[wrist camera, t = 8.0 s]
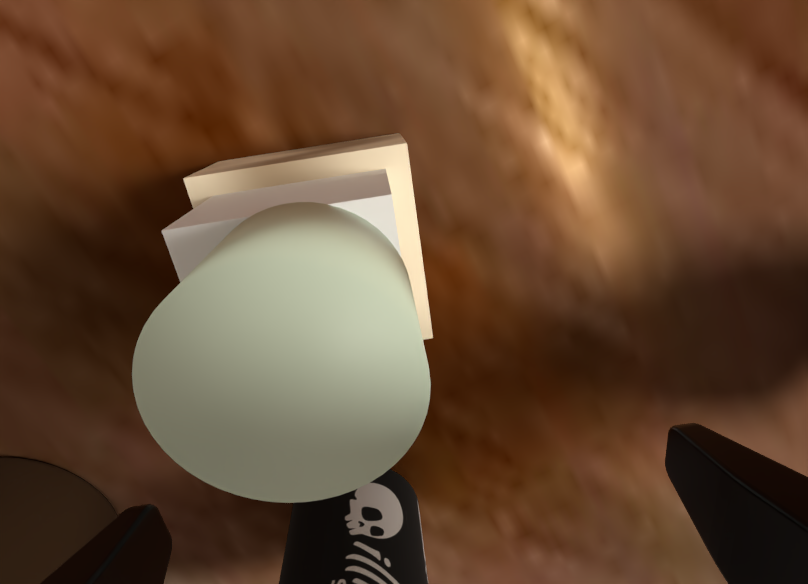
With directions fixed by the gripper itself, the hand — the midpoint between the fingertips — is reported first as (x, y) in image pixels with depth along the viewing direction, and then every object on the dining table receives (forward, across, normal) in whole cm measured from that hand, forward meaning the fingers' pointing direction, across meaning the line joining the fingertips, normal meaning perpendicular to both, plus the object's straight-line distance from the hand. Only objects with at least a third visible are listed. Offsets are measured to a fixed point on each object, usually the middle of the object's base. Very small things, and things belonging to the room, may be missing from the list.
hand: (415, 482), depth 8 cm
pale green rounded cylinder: (+5, +2, -2) cm, 6 cm away
